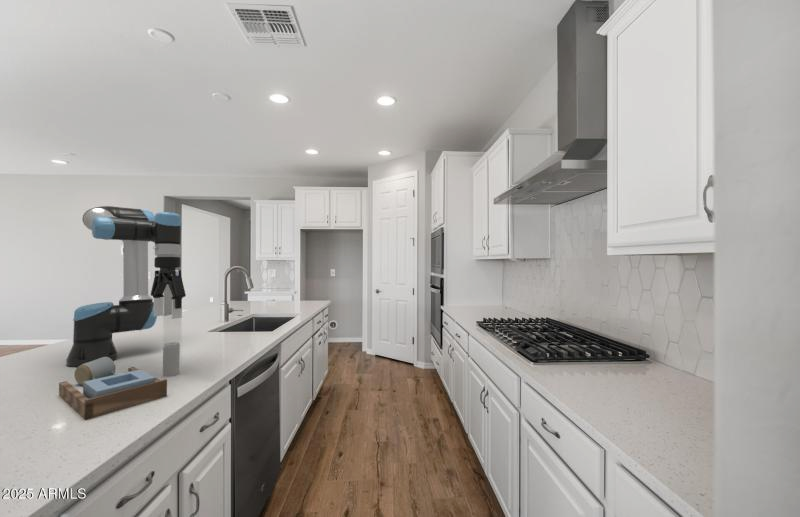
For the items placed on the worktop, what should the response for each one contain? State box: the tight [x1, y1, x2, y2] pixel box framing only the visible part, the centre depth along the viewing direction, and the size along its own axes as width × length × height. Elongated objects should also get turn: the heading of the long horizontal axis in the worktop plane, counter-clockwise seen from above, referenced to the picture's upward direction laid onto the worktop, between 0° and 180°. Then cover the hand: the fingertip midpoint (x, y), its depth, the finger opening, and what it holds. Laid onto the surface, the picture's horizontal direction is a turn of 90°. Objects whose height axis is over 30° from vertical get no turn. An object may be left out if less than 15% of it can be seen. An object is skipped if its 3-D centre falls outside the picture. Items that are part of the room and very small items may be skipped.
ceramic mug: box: [74, 357, 117, 386], centre depth 111 cm, size 11×8×8 cm
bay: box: [58, 366, 168, 421], centre depth 98 cm, size 26×18×6 cm
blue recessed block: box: [82, 369, 156, 399], centre depth 95 cm, size 12×13×6 cm
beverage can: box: [162, 341, 181, 378], centre depth 117 cm, size 5×5×12 cm
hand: (167, 317), depth 115 cm, fingers open, 13 cm apart
